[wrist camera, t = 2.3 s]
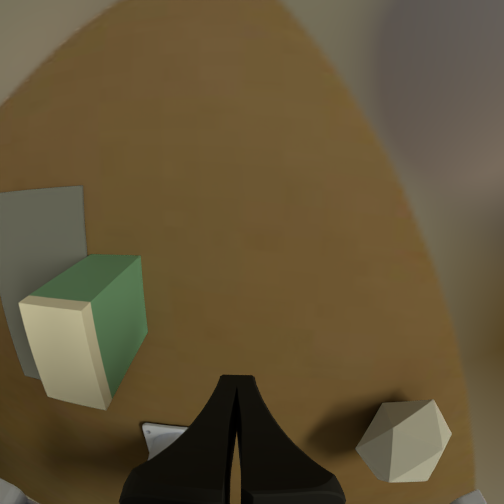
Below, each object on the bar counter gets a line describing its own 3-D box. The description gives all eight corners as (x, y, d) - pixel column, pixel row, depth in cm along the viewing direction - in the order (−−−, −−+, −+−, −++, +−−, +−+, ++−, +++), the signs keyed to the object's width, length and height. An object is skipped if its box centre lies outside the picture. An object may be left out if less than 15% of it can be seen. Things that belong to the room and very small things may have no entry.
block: (147, 331, 23) (106, 410, 14) (101, 327, 22) (47, 396, 14) (140, 255, 21) (81, 310, 12) (91, 254, 21) (18, 302, 12)
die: (331, 432, 27) (372, 507, 21) (367, 406, 21) (421, 502, 15) (392, 399, 29) (430, 465, 23) (434, 365, 23) (483, 444, 17)
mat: (113, 394, 24) (112, 395, 24) (25, 374, 24) (24, 375, 24) (82, 185, 20) (81, 185, 19) (-13, 194, 19) (-14, 194, 19)
